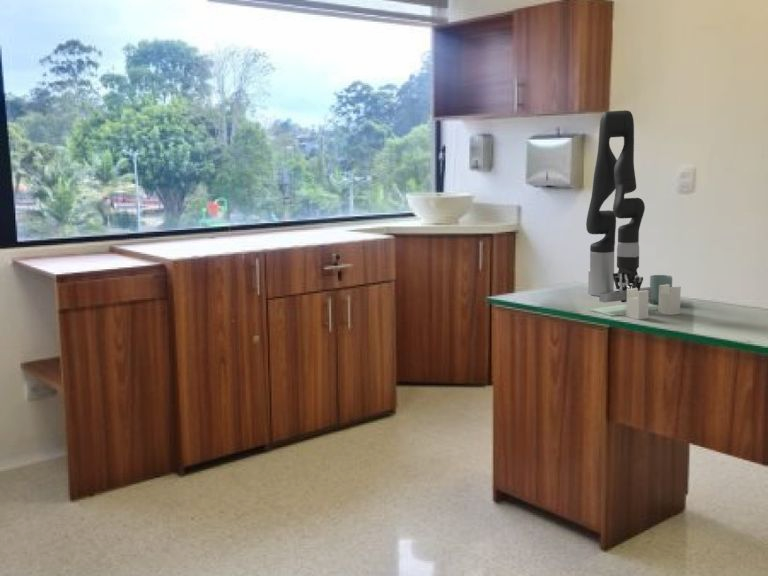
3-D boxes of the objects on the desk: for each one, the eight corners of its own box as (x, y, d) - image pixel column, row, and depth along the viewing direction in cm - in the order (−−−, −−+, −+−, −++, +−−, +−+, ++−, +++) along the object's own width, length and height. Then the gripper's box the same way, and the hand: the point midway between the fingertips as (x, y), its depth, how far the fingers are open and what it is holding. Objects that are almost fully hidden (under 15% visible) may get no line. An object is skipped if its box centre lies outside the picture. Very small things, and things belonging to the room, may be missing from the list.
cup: (673, 305, 280) (674, 278, 278) (650, 305, 282) (651, 278, 280) (669, 301, 287) (670, 274, 286) (648, 301, 289) (648, 274, 287)
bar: (599, 301, 271) (599, 292, 271) (648, 295, 280) (648, 287, 279) (604, 302, 269) (605, 294, 268) (654, 296, 277) (654, 288, 276)
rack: (626, 316, 264) (626, 289, 262) (667, 310, 271) (667, 284, 269) (638, 319, 258) (639, 291, 257) (679, 313, 265) (680, 286, 263)
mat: (589, 310, 276) (589, 309, 276) (642, 303, 285) (642, 302, 285) (611, 316, 265) (611, 314, 265) (665, 308, 274) (665, 307, 274)
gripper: (606, 253, 277) (605, 300, 279) (633, 257, 264) (632, 306, 266) (623, 252, 279) (622, 298, 282) (650, 255, 267) (649, 304, 269)
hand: (627, 302), depth 274 cm, fingers closed on bar, 3 cm apart
